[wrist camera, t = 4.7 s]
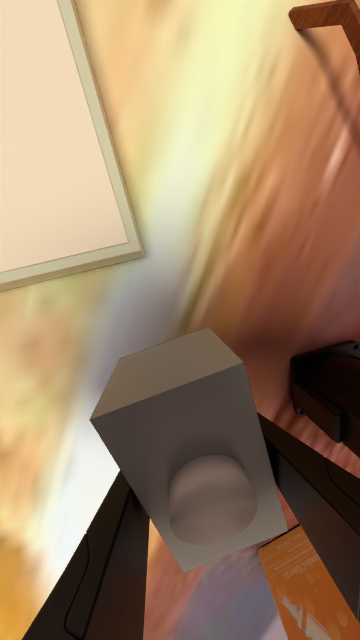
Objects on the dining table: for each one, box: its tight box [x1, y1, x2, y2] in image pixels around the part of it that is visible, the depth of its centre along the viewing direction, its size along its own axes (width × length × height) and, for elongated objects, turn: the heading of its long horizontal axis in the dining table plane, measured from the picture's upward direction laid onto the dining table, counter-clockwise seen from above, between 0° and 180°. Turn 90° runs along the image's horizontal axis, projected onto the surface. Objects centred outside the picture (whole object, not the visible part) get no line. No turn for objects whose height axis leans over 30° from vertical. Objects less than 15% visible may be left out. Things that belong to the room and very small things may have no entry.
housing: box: [90, 327, 288, 573], centre depth 8 cm, size 5×9×5 cm, turn 19°
